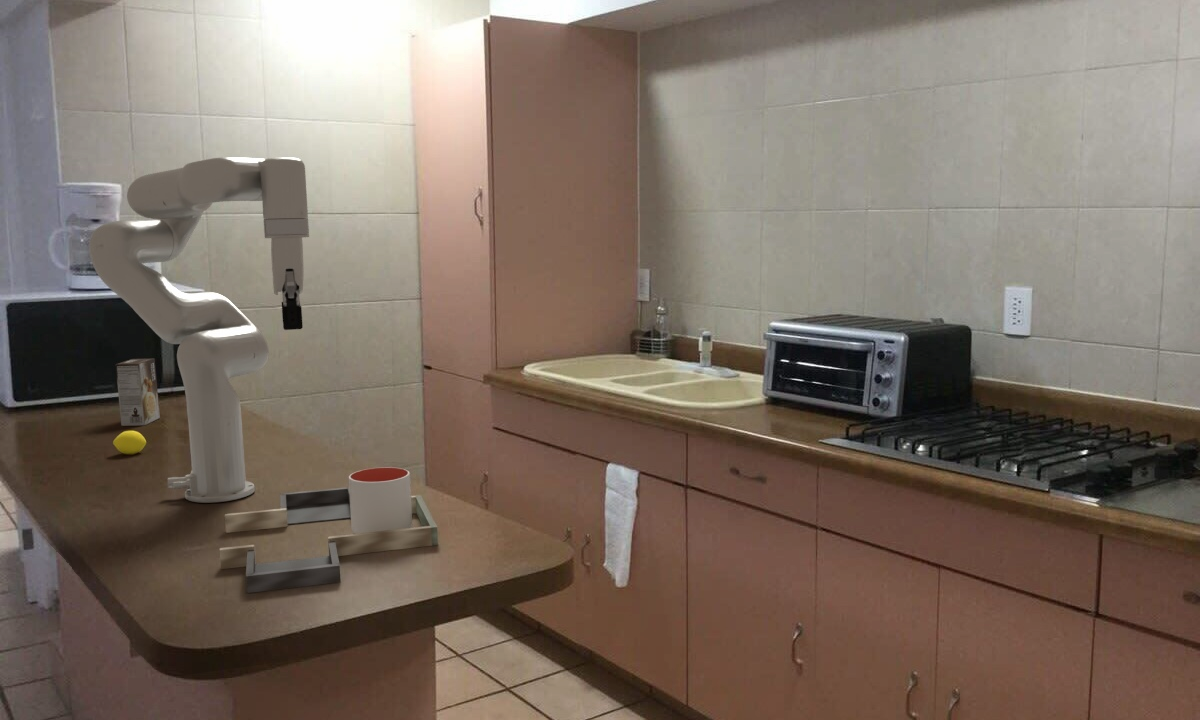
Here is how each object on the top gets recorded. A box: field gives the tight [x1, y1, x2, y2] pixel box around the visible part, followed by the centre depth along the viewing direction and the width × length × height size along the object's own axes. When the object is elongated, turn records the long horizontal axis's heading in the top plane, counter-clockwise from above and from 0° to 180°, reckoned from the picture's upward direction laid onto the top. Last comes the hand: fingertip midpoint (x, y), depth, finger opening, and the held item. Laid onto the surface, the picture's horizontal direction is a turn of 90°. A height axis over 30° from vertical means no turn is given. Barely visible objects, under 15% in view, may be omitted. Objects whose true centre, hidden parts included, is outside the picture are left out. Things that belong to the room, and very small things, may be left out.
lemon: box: [112, 430, 147, 455], centre depth 238 cm, size 7×5×5 cm
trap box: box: [219, 486, 439, 594], centre depth 175 cm, size 33×44×3 cm
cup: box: [348, 466, 413, 534], centre depth 177 cm, size 10×10×10 cm
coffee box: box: [115, 358, 161, 427], centre depth 272 cm, size 9×6×16 cm
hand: (292, 326), depth 188 cm, fingers open, 9 cm apart
